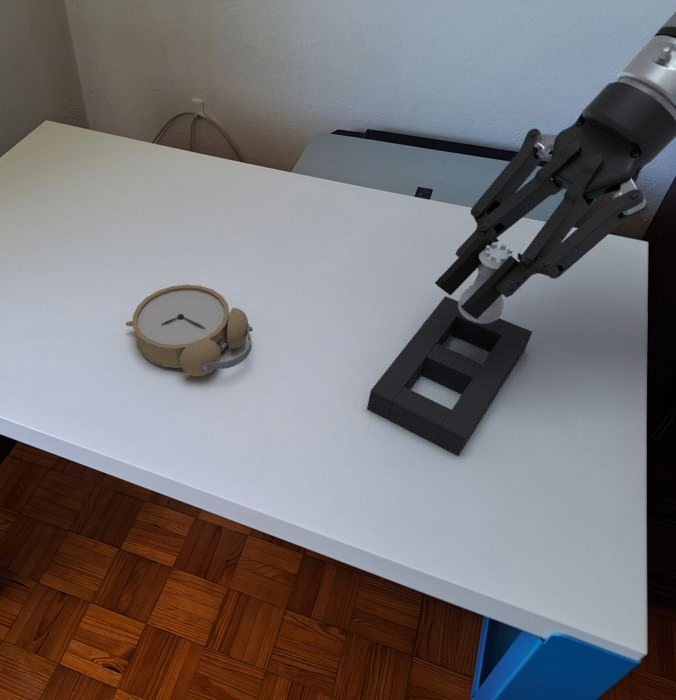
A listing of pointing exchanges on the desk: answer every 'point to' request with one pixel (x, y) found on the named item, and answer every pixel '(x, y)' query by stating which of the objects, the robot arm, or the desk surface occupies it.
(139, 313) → the alarm clock
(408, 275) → the desk surface
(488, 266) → the rook chess piece
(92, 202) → the desk surface
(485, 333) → the socket pad
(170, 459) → the desk surface
